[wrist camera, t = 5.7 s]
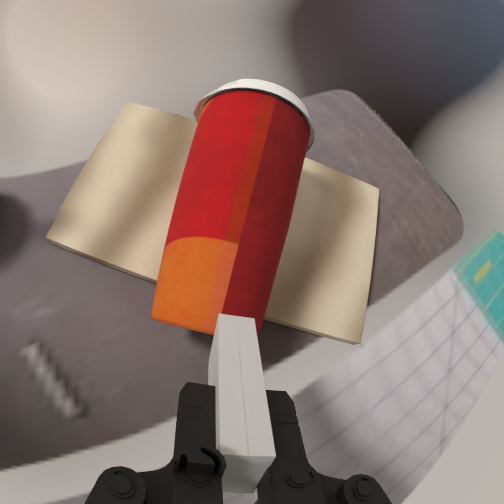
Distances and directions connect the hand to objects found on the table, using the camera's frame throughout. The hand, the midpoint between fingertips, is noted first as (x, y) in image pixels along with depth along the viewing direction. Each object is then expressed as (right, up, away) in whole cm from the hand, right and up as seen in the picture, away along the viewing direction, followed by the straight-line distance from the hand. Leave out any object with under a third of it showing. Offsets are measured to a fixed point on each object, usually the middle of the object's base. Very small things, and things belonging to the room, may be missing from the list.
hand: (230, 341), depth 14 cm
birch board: (-1, +7, +11) cm, 13 cm away
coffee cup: (-2, -1, +4) cm, 4 cm away
